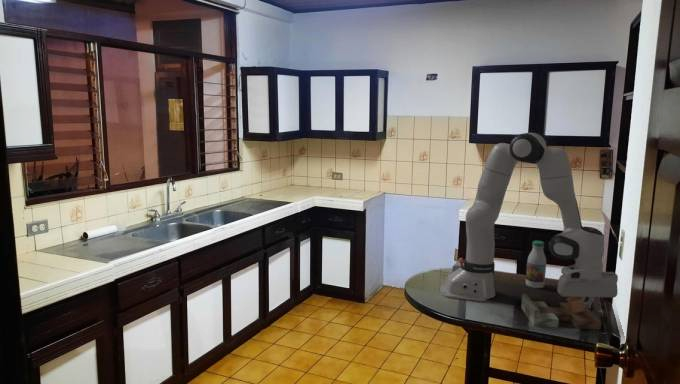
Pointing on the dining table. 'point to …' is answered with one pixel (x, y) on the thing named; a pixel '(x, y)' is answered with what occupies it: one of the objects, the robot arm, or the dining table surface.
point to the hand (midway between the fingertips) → (585, 307)
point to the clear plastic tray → (558, 315)
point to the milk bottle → (536, 266)
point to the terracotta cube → (575, 304)
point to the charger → (456, 266)
